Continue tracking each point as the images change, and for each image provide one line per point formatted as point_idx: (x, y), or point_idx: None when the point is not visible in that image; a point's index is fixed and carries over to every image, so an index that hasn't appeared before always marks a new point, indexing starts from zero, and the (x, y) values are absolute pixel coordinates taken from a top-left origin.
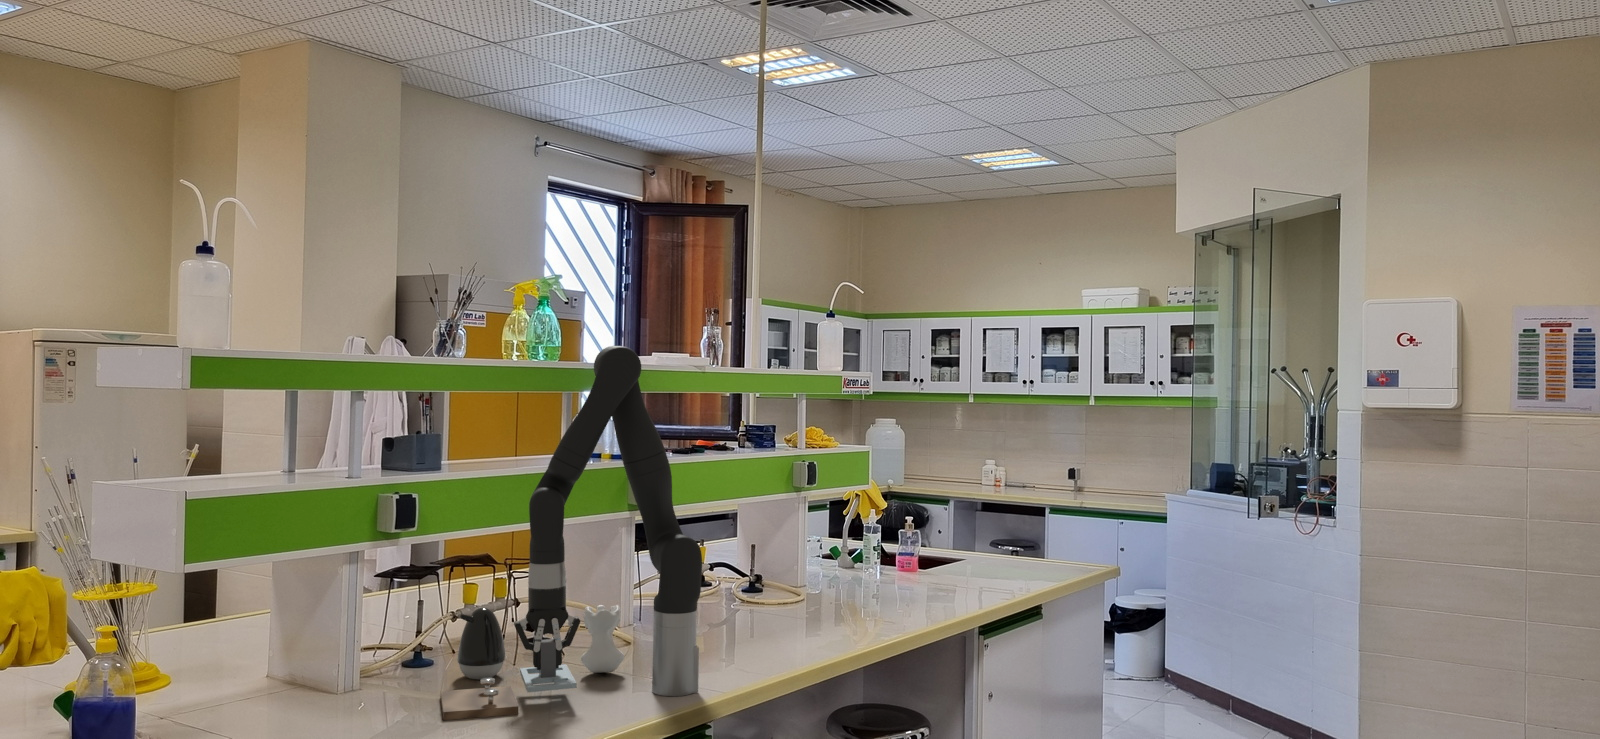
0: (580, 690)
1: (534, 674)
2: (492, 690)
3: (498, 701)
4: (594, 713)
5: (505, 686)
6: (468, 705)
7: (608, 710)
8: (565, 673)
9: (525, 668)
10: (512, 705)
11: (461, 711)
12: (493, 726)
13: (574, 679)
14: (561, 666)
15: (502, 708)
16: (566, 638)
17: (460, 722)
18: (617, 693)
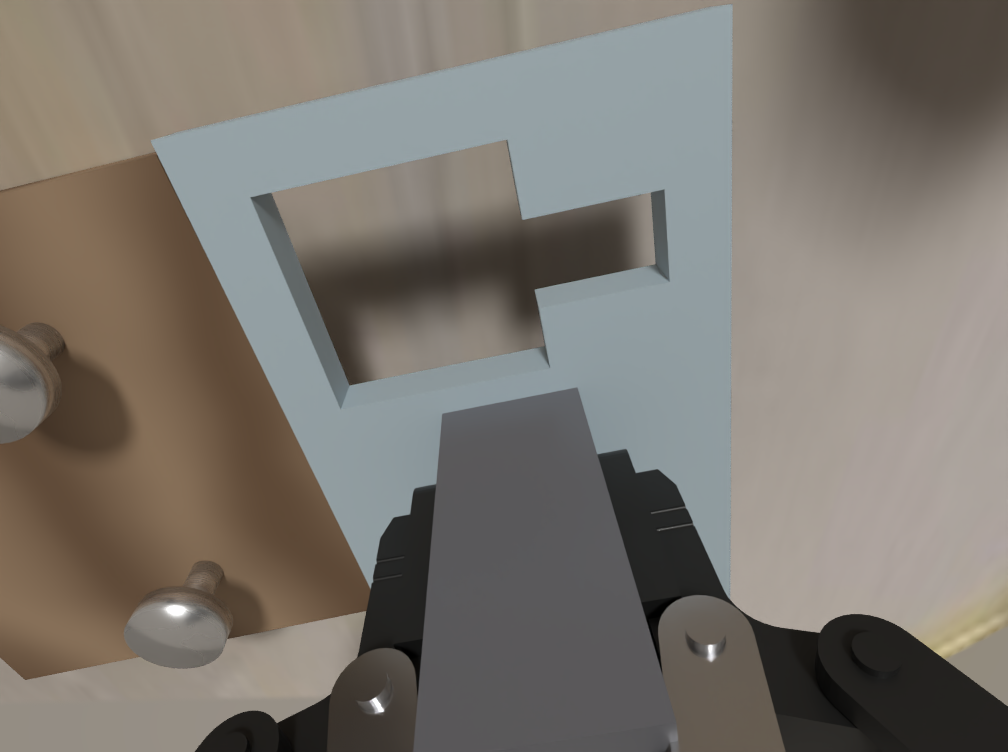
0: (758, 78)
1: (399, 418)
2: (185, 640)
3: (236, 537)
4: (751, 563)
5: (111, 168)
6: (93, 597)
7: (827, 526)
8: (680, 420)
9: (230, 168)
10: (345, 596)
11: (109, 660)
12: (323, 696)
13: (728, 572)
14: (661, 132)
15: (304, 619)
16: (895, 735)
17: (153, 663)
18: (1002, 196)
